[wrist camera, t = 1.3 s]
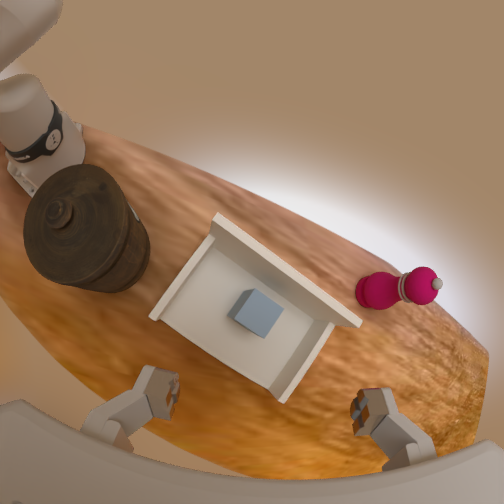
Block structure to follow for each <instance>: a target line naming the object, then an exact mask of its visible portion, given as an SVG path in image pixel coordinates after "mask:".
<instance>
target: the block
mask: <svg viewBox="0 0 504 504" xmlns="http://www.w3.org/2000/svg"><path fill="white" fill-rule="evenodd" d="M283 310H284V308H283V307H281V306H280V305H278V304H277V303H275V302H274V301H273V300H271V299H270V298H268V297H267V296H266V295H264V294H263V293H261V292H260V291H259V290H257V289H256V288H254V289H250V290H245V291H243V293H242V294H241V296H240V297H239V298H238V300H237V301H236V303H235V304H234V306H233V307H232V308H231V310H230V311H229V313H228V314H227V316H228V317H230V318H231V319H233V320H234V321H236V322H237V323H238V324H240V325H241V326H243V327H244V328H246V329H247V330H249V331H250V332H252V333H254V334H256V335H258V336H260V337H262V338H263V339H265V337H266V336H267V334H268V333H269V331H270V330H271V328H272V327H273V325H274V324H275V322H276V321H277V319H278V318H279V316H280V315H281V313H282V312H283Z"/></svg>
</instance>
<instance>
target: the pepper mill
mask: <svg viewBox="0 0 504 504" xmlns="http://www.w3.org/2000/svg"><path fill="white" fill-rule="evenodd" d="M442 285H443V283H442V280H441V279H440V278H438V277H437V275H436V273H435V272H434V271H433V270H432V269H430V268H428V267H418V268H416V269H414V270H413V271H412V272H409V273H405V274H403V275H402V276H401V277H395V276H393V275H391V274H390V273H386V272H376V273H374V274H372V275H371V276H368V277H364V278H362V279H361V280H360V281H359V282H358V284H357V287H356V297H357V300H358V302H359V303H360V304H361V305H362V306H364V307H372V308H374V309H377V310H382V309H387V308H389V307H391V306H392V305H394V304H395V303H396V302H398V301H401V300H403V301H404V302H407V303H410V302H414V303H415V304H418V305H426V304H428V303H430V302H432V301H433V300H434V298H435V297H436V296H437V294H438V290H439V289H441V287H442Z"/></svg>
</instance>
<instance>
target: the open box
mask: <svg viewBox="0 0 504 504" xmlns="http://www.w3.org/2000/svg"><path fill="white" fill-rule="evenodd" d="M254 288H256V289H257V290H259V291H260V292H261V293H263V294H264V295H266V296H267V297H268V298H270V299H271V300H273V301H274V302H275V303H277V304H278V305H280V306H281V307H283V308H284V310H283V312H282V313H281V315H280V316H279V318H278V319H277V321H276V322H275V324H274V325H273V327H272V328H271V330H270V331H269V333H268V334H267V336H266V337H265V339H263V338H262V337H260V336H258V335H256V334H254V333H252V332H250V331H249V330H247V329H246V328H244V327H243V326H241V325H240V324H238V323H237V322H236V321H234V320H233V319H231V318H230V317H228V316H227V314H228V313H229V311H230V310H231V308H232V307H233V306H234V304H235V303H236V301H237V300H238V298H239V297H240V296H241V294H242V293H243V291H245V290H250V289H254ZM148 317H150V318H151V319H152V320H154V321H157V320H159V319H161V320H162V321H164V322H165V323H166V324H168V325H169V326H170V327H172V328H173V329H175V330H176V331H177V332H179V333H180V334H181V335H183V336H184V337H186V338H187V339H188V340H190V341H191V342H193V343H194V344H196V345H197V346H199V347H200V348H202V349H203V350H204V351H206V352H207V353H209V354H210V355H212V356H214V357H215V358H217V359H218V360H220V361H221V362H223V363H224V364H226V365H228V366H229V367H231V368H232V369H234V370H236V371H237V372H239V373H240V374H242V375H244V376H245V377H247V378H249V379H250V380H252V381H254V382H256V383H257V384H259V385H261V386H262V387H264V388H266V389H268V390H269V391H270V392H271V394H272V395H273V396H274V397H275V398H276V399H277V400H278V401H280V402H281V403H283V404H284V403H285V402H286V400H287V399H288V397H289V396H290V395H291V393H292V392H293V390H294V389H295V388H296V386H297V385H298V383H299V382H300V380H301V379H302V377H303V376H304V374H305V373H306V371H307V370H308V368H309V367H310V365H311V364H312V362H313V361H314V359H315V358H316V356H317V354H318V353H319V351H320V350H321V348H322V346H323V345H324V343H325V342H326V340H327V338H328V337H329V335H330V333H331V332H332V330H333V328H334V327H335V325H337V326H345V327H353V328H359V327H360V325H361V324H362V322H363V320H361V319H360V318H359V317H357V316H356V315H355V314H354V313H352V312H351V311H350V310H348V309H347V308H346V307H344V306H343V305H342V304H340V303H339V302H338V301H336V300H335V299H334V298H332V297H331V296H330V295H329V294H327V293H326V292H325V291H323V290H322V289H321V288H319V287H318V286H317V285H315V284H314V283H313V282H311V281H310V280H309V279H307V278H306V277H305V276H303V275H302V274H301V273H299V272H298V271H297V270H295V269H294V268H293V267H291V266H290V265H289V264H287V263H286V262H285V261H283V260H282V259H281V258H279V257H278V256H277V255H275V254H274V253H273V252H271V251H270V250H268V249H267V248H266V247H264V246H263V245H262V244H260V243H259V242H258V241H256V240H255V239H254V238H252V237H251V236H250V235H248V234H247V233H246V232H244V231H243V230H241V229H240V228H239V227H237V226H236V225H235V224H233V223H232V222H231V221H229V220H228V219H226V218H225V217H224V216H222V215H221V214H220V213H217V214H216V215H215V217H214V218H213V219H212V222H211V227H210V232H209V234H208V236H207V237H206V238H205V240H204V241H203V242H202V244H201V245H200V246H199V248H198V249H197V250H196V251H195V253H194V254H193V255H192V257H191V258H190V259H189V261H188V262H187V263H186V265H185V266H184V267H183V269H182V270H181V271H180V273H179V274H178V276H177V277H176V278H175V280H174V281H173V282H172V284H171V285H170V286H169V288H168V289H167V291H166V292H165V293H164V295H163V296H162V298H161V299H160V300H159V302H158V303H157V305H156V306H155V307H154V309H153V310H152V312H151V313H150V314H149V316H148Z"/></svg>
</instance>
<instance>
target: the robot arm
mask: <svg viewBox="0 0 504 504" xmlns="http://www.w3.org/2000/svg"><path fill="white" fill-rule="evenodd" d="M62 6H63V0H0V72H1V71H3V70H4V69H5V68H6V67H7V66H8V65H9V64H10V63H12V62H13V61H14V60H15V59H16V58H18V57H19V56H20V55H21V54H22V53H24V52H25V51H26V50H27V49H29V48H30V47H31V46H32V45H34V44H35V43H36V41H38V40H39V39H40V38H41V37H42V36H43V35H44V34H45V33H46V32H47V31H48V30H50V29H51V28H52V27H53V26H54V25H55V24H56V23H57V21H58V19H59V17H60V14H61V11H62ZM82 132H83V126H82V125H81V124H80V123H74V122H73V121H72V119H71V118H70V116H69V115H68V114H67V112H65V111H63V112H62V111H60V110H59V108H58V106H57V105H56V104H55V103H54V102H53V101H52V100H50V99H49V97H48V95H47V93H46V91H45V90H44V88H43V86H42V84H41V82H40V80H39V79H38V78H37V77H36V76H34V75H32V74H18V75H15V76H12V77H10V78H7V79H5V80H1V81H0V142H1V143H2V144H3V145H4V146H5V149H6V154H5V155H6V157H7V158H8V159H9V163H8V167H7V170H8V172H9V173H10V174H11V175H12V176H13V178H14V179H15V180H16V181H17V182H18V183H19V184H20V185H21V187H22V188H23V189H24V190H25V191H26V192H27V193H28V194H29V195H30V196H31V197H32V198H33V196H34V194H35V193H36V191H37V190H38V188H39V187H40V186H41V185H42V184H43V182H44V181H46V180H47V179H48V178H49V177H50V176H51V175H53V174H54V173H56V172H57V171H59V170H61V169H63V168H65V167H68V166H72V165H77V164H82V163H83V160H84V156H85V143H84V140H83V138H82ZM33 191H34V192H33ZM178 378H179V376H178V373H177V372H173V371H169V370H165V369H161V368H157V367H153V366H150V365H145V366H144V367H143V369H142V370H141V372H140V374H139V376H138V378H137V380H136V382H135V384H134V386H133V389H132V390H127V391H125V392H124V393H122V394H120V395H118V396H116V397H115V398H113V399H111V400H109V401H107V402H106V403H104V404H102V405H100V406H98V407H97V408H95V409H93V410H91V411H90V413H89V414H88V416H87V418H86V420H85V422H84V424H83V425H82V428H81V429H80V431H78V430H76V429H74V428H72V427H70V426H68V425H66V424H64V423H62V422H60V421H59V420H57V419H55V418H53V417H51V416H50V415H48V414H46V413H45V412H43V411H41V410H40V409H38V408H36V407H35V406H33V405H31V404H30V403H28V402H27V401H25V400H22V399H20V400H15V401H12V402H9V403H6V404H3V405H0V504H504V450H503V449H502V448H500V447H499V446H498V445H497V444H495V443H494V442H492V441H491V440H488V439H485V440H482V441H479V442H478V443H475V444H473V445H470V446H468V447H465V448H463V449H460V450H458V451H455V452H452V453H450V454H447V455H444V456H441V457H437V454H436V451H435V448H434V445H433V442H432V439H431V437H429V436H428V435H427V434H426V433H425V432H423V431H422V430H421V429H420V428H419V427H418V426H416V425H415V424H414V423H413V422H412V421H410V420H409V419H408V418H407V417H406V416H405V415H403V414H402V413H399V411H398V408H397V405H396V402H395V400H394V397H393V394H392V391H391V389H390V388H369V389H360V390H359V391H358V393H357V397H356V398H355V399H353V401H352V403H351V406H350V416H351V418H352V419H353V420H354V423H353V424H352V426H353V432H354V436H360V435H370V436H371V437H372V439H373V440H374V441H375V442H376V443H377V445H378V446H379V447H380V448H381V449H382V450H383V452H384V453H385V454H386V455H387V456H388V458H389V459H390V460H389V461H388V462H387V463H385V464H384V465H383V466H382V471H383V472H378V473H372V474H365V475H358V476H351V477H341V478H330V479H311V480H277V479H258V478H246V477H236V476H229V475H221V474H215V473H209V472H203V471H198V470H193V469H188V468H184V467H180V466H175V465H171V464H167V463H164V462H160V461H157V460H153V459H149V458H146V457H143V456H140V455H137V454H134V453H133V450H134V448H133V446H132V444H131V443H130V441H129V439H128V438H127V437H129V436H130V435H131V434H133V433H134V432H135V431H137V430H138V429H139V428H140V427H142V426H143V425H144V424H146V423H147V422H148V421H150V420H151V419H152V418H153V417H157V418H161V419H165V420H170V421H171V419H172V416H173V413H174V410H175V408H174V404H175V403H176V402H177V401H178V398H179V393H180V383H179V382H178Z"/></svg>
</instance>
